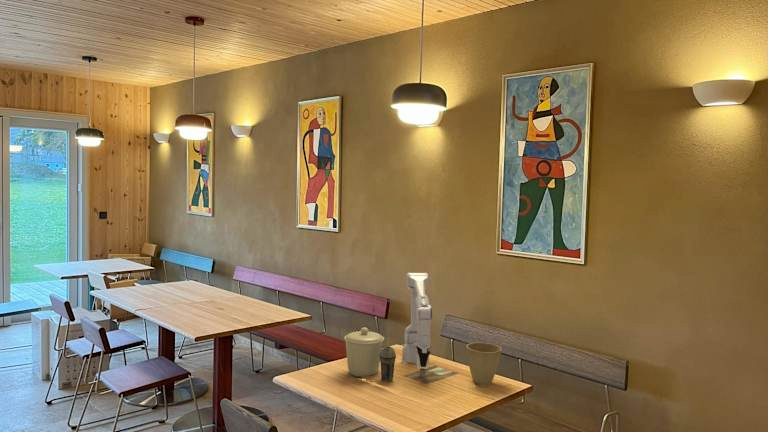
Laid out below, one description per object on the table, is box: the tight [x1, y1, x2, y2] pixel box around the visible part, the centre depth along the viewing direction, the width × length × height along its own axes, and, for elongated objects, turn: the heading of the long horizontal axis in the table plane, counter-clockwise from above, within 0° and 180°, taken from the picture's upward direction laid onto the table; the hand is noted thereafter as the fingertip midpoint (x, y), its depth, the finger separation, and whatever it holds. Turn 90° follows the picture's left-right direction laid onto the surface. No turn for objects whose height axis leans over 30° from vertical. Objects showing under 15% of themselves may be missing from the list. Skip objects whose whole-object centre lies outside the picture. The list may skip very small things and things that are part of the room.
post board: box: [403, 365, 459, 385], centre depth 249 cm, size 14×22×5 cm, turn 135°
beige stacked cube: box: [416, 354, 430, 369], centre depth 244 cm, size 5×5×5 cm
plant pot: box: [466, 342, 502, 387], centre depth 242 cm, size 15×15×16 cm
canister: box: [343, 326, 385, 378], centre depth 250 cm, size 18×18×21 cm
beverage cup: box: [379, 336, 397, 383], centre depth 240 cm, size 7×7×20 cm
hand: (422, 364), depth 244 cm, fingers closed on beige stacked cube, 5 cm apart
